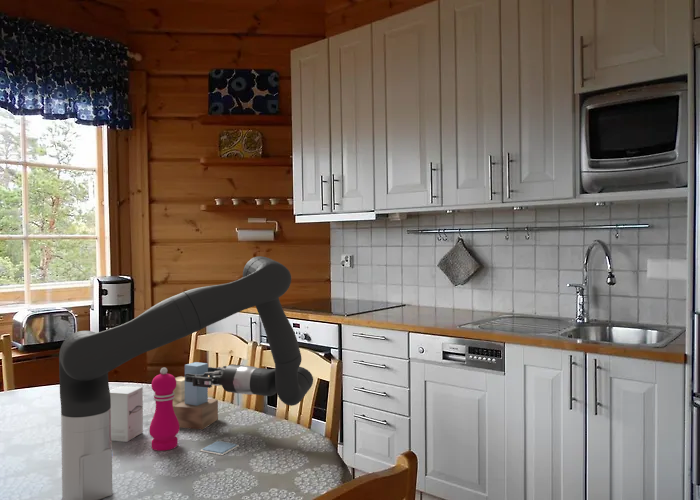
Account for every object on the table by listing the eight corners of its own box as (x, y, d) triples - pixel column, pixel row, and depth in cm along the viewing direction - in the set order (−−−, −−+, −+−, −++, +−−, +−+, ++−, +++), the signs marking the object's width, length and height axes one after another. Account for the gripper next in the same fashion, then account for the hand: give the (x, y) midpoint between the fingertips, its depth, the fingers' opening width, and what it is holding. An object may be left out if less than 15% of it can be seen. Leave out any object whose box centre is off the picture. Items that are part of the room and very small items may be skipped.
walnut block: (217, 420, 164) (217, 399, 164) (202, 430, 155) (202, 408, 155) (190, 417, 166) (190, 397, 166) (173, 427, 157) (173, 406, 157)
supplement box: (128, 442, 145) (127, 393, 145) (102, 440, 147) (101, 392, 147) (144, 432, 153) (143, 386, 152) (119, 431, 154) (118, 385, 154)
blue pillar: (207, 401, 162) (207, 363, 162) (196, 405, 158) (197, 366, 158) (195, 399, 164) (195, 362, 164) (184, 403, 160) (184, 364, 160)
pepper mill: (143, 448, 141) (142, 369, 141) (165, 439, 147) (164, 363, 147) (164, 453, 137) (163, 372, 137) (185, 444, 144) (184, 366, 144)
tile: (239, 446, 142) (239, 444, 142) (222, 455, 136) (222, 453, 136) (217, 442, 145) (217, 440, 145) (200, 451, 139) (200, 448, 139)
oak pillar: (192, 414, 169) (191, 377, 168) (181, 418, 165) (181, 381, 164) (180, 412, 171) (179, 376, 170) (169, 416, 167) (169, 379, 166)
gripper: (257, 360, 160) (212, 356, 167) (226, 371, 147) (178, 366, 154) (258, 387, 160) (212, 381, 167) (227, 400, 147) (178, 393, 154)
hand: (196, 374), depth 160 cm, fingers open, 8 cm apart
